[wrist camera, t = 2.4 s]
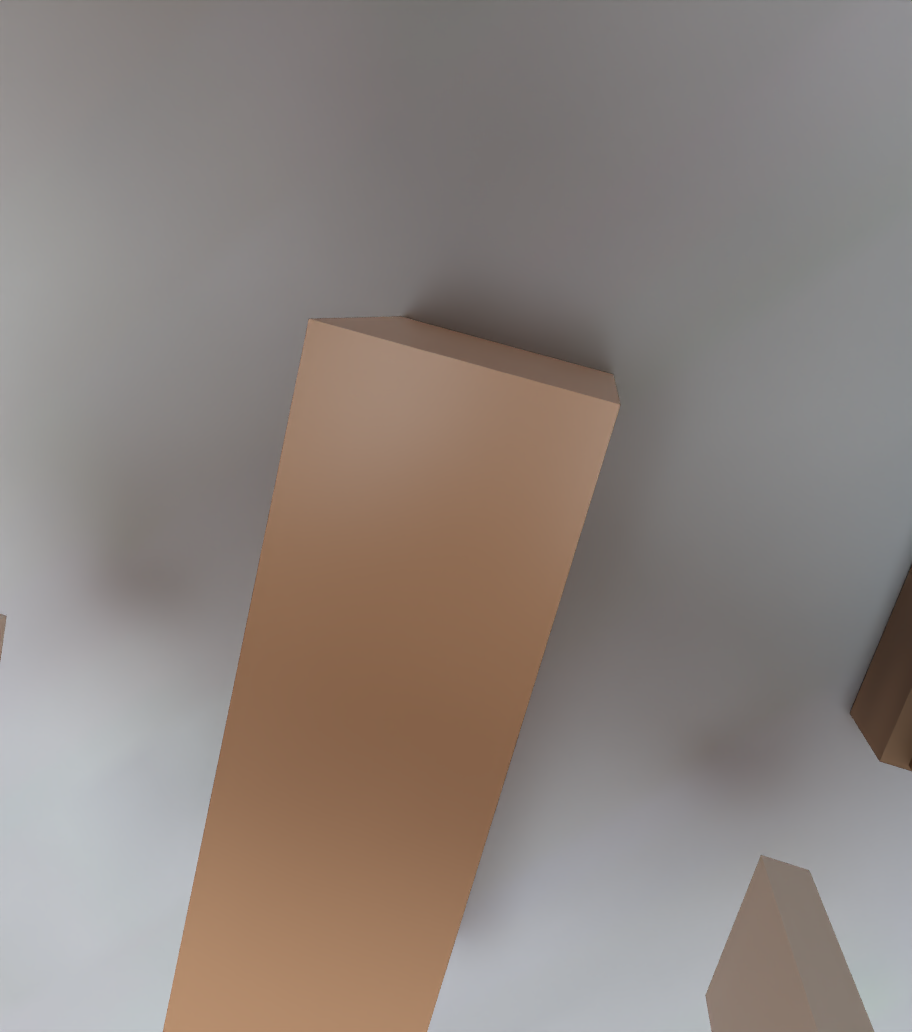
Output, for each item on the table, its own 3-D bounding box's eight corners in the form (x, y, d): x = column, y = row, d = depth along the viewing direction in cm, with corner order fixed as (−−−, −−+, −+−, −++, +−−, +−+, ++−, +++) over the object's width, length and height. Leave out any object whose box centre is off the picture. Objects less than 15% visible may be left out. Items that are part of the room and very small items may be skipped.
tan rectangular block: (402, 316, 18) (308, 318, 12) (612, 373, 17) (621, 404, 12) (272, 872, 22) (153, 1076, 16) (444, 930, 21) (386, 1162, 15)
